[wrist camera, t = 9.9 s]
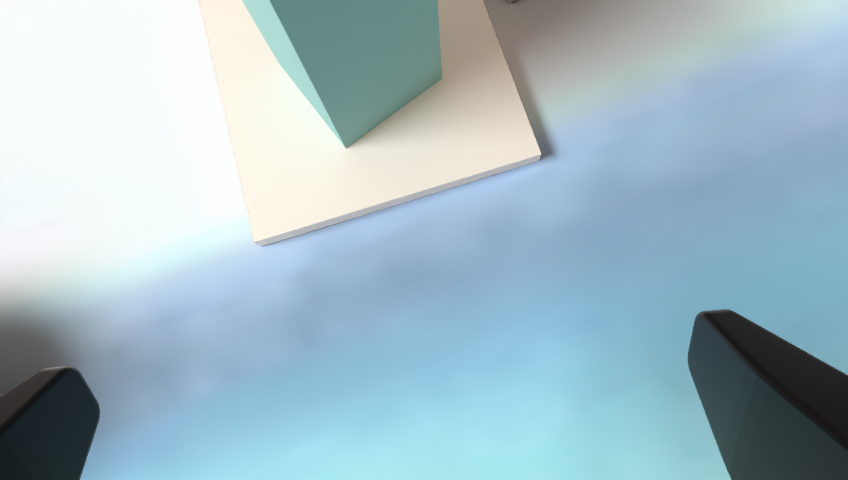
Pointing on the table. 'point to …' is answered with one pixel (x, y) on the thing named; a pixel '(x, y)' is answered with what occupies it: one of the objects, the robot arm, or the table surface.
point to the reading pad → (378, 149)
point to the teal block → (354, 55)
